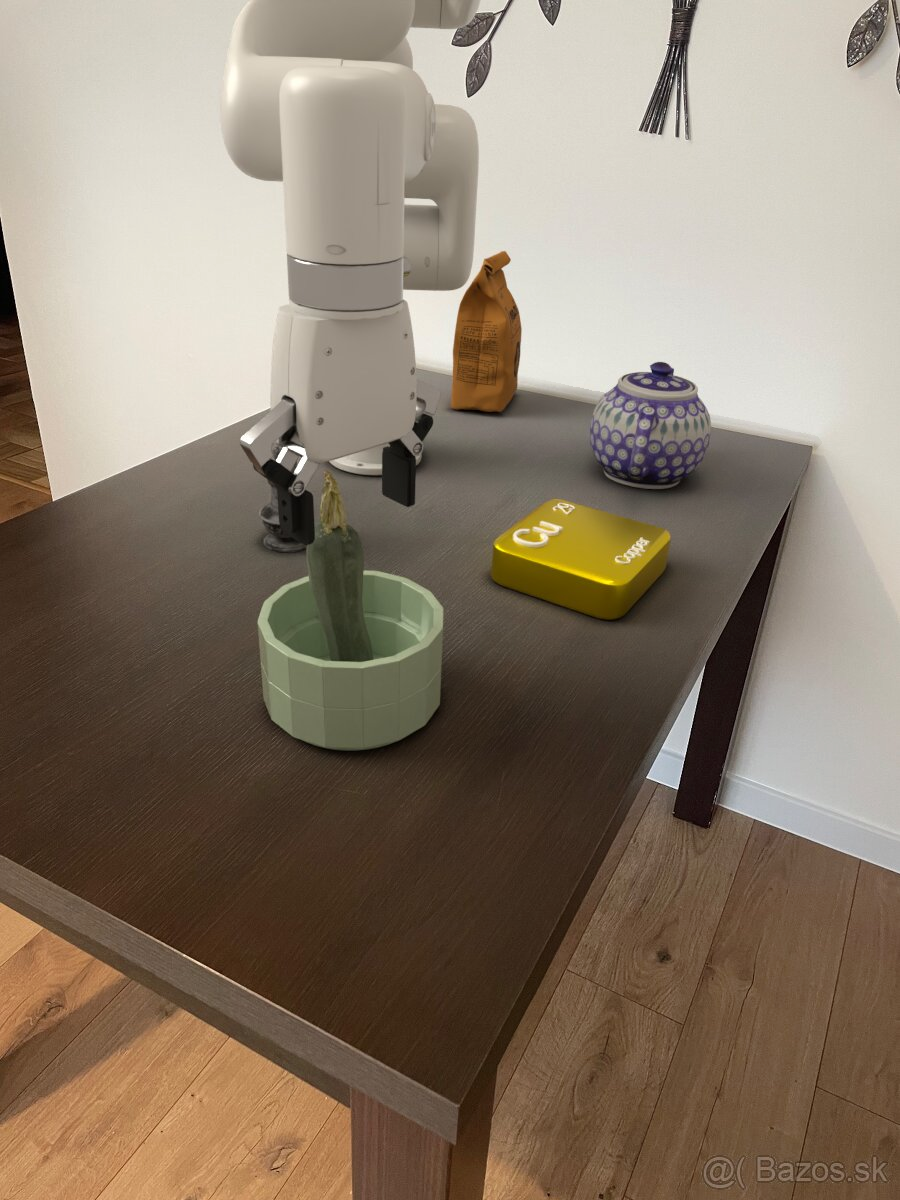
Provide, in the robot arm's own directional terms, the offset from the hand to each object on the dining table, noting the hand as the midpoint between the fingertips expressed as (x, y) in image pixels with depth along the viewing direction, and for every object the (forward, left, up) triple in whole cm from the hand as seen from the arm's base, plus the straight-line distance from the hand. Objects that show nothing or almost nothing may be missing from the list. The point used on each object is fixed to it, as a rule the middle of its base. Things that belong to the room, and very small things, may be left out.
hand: (350, 518), depth 69 cm
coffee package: (-45, +64, -17) cm, 80 cm away
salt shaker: (-27, +13, -17) cm, 35 cm away
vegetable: (0, 0, -16) cm, 16 cm away
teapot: (-12, +60, -17) cm, 64 cm away
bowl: (0, 0, -17) cm, 17 cm away
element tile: (-1, +32, -17) cm, 36 cm away
